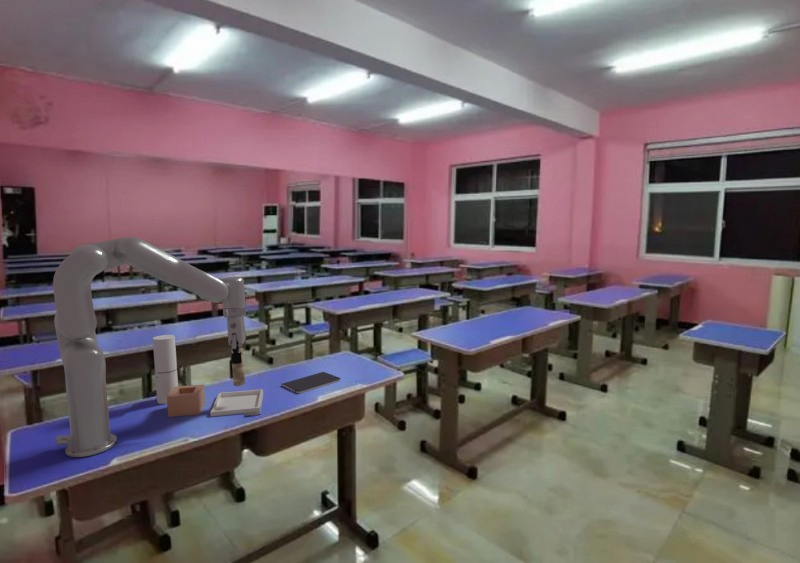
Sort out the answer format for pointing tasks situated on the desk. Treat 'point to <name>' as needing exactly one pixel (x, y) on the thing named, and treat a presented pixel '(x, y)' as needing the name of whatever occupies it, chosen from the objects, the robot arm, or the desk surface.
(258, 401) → the tray
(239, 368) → the dowel pin
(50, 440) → the desk surface
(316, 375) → the notebook
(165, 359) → the cylindrical container
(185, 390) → the deep holder
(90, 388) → the robot arm
